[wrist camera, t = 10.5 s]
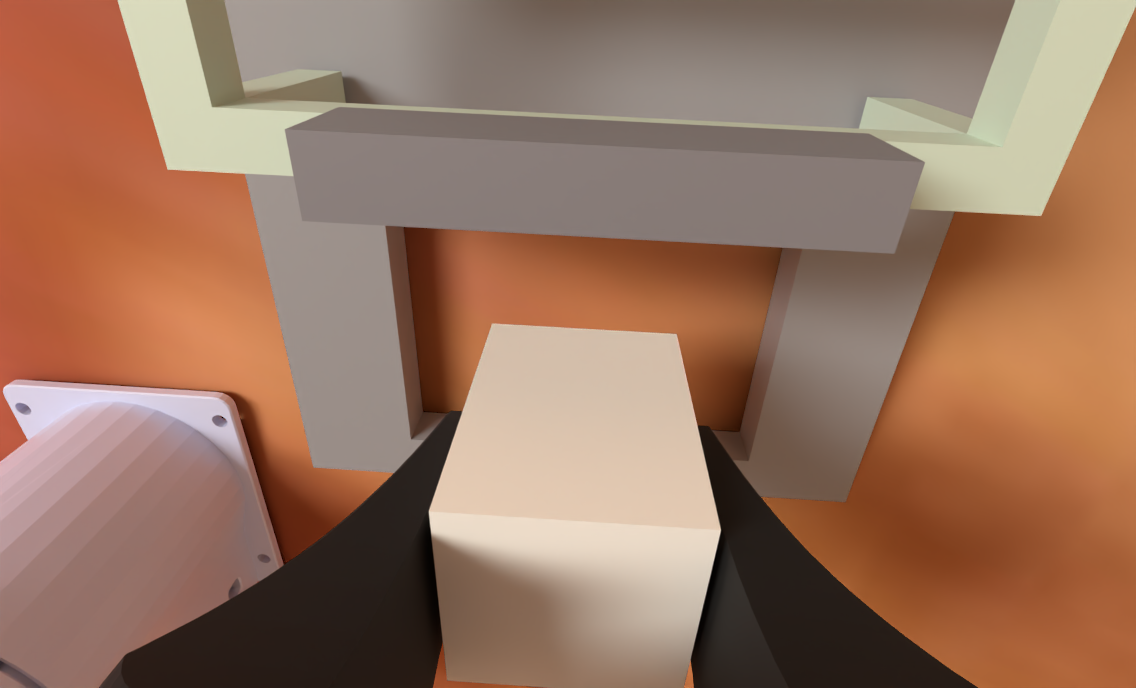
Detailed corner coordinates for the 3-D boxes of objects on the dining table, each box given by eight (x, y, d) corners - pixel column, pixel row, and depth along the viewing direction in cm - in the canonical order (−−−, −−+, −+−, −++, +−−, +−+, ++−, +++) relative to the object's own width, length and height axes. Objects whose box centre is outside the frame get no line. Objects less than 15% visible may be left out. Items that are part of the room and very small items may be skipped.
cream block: (655, 473, 15) (681, 697, 10) (496, 464, 15) (447, 680, 10) (676, 333, 13) (721, 530, 8) (492, 323, 13) (428, 511, 8)
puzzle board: (830, 471, 21) (845, 502, 20) (330, 439, 22) (313, 467, 20) (1204, -609, 10) (1299, -703, 8) (109, -630, 10) (36, -722, 9)
